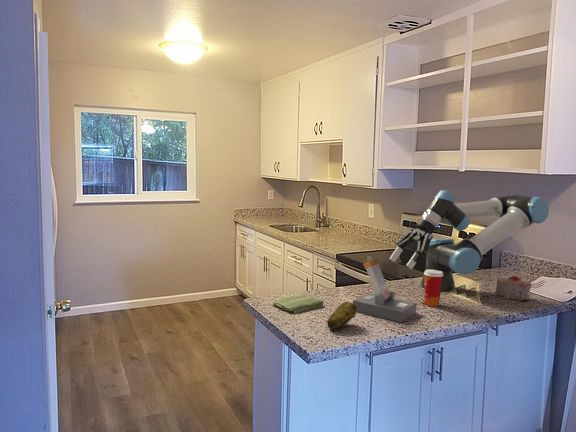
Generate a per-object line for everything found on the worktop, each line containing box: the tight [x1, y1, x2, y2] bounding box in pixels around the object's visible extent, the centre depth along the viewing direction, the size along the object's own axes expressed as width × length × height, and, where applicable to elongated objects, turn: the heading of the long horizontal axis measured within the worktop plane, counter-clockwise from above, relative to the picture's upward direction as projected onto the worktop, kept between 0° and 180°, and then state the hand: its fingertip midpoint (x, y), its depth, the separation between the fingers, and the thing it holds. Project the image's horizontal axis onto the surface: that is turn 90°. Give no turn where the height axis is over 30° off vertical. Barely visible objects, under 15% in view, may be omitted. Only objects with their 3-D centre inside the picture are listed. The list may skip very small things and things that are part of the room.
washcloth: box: [272, 292, 324, 314], centre depth 181 cm, size 13×18×3 cm
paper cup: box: [423, 269, 444, 308], centre depth 187 cm, size 8×8×14 cm
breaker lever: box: [362, 258, 391, 302], centre depth 178 cm, size 3×6×16 cm, turn 142°
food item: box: [495, 275, 532, 302], centre depth 201 cm, size 14×8×10 cm, turn 36°
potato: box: [326, 301, 357, 330], centre depth 160 cm, size 8×13×8 cm, turn 118°
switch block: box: [352, 289, 418, 323], centre depth 177 cm, size 20×14×7 cm
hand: (400, 263), depth 193 cm, fingers open, 13 cm apart
